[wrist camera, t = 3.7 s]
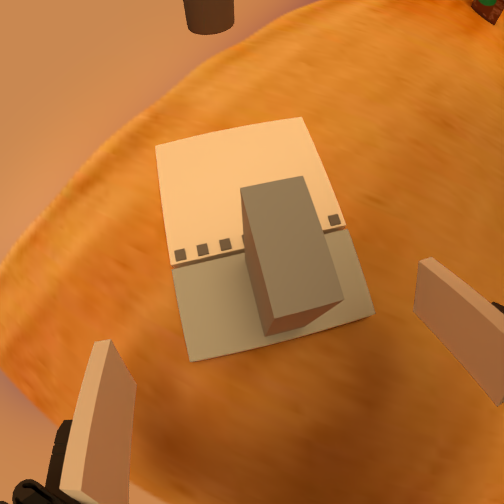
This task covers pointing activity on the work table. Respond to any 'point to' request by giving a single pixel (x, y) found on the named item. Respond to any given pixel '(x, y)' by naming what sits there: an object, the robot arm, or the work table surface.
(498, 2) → the food container
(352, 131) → the work table surface
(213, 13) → the bottle
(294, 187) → the stub
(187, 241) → the notepad
